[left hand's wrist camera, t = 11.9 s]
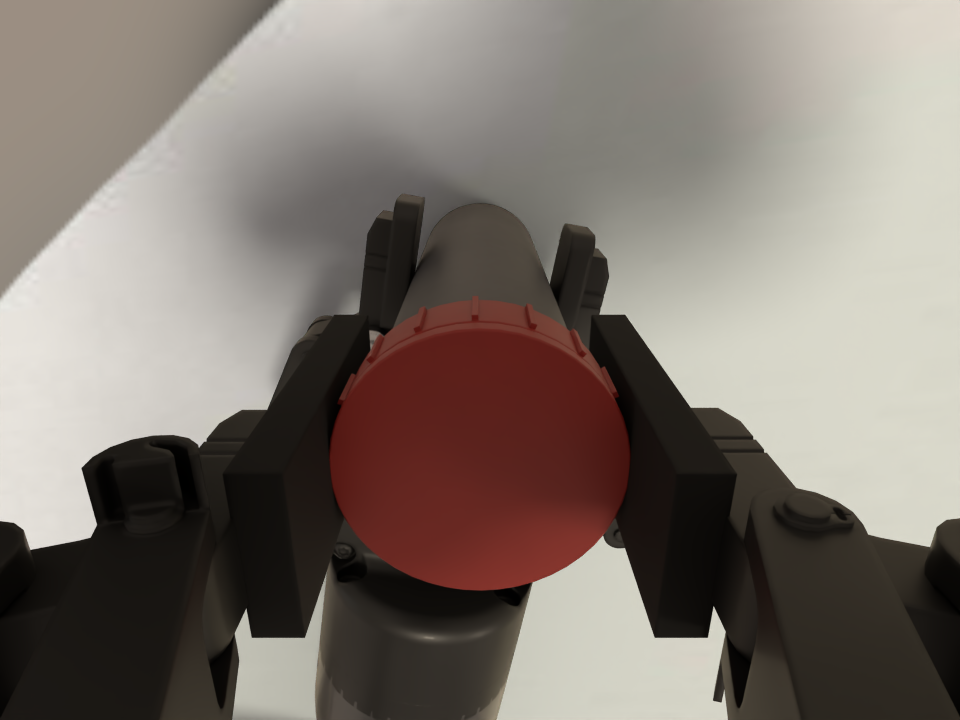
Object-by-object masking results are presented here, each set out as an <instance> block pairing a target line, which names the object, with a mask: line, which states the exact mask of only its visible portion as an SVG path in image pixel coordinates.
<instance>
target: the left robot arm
mask: <svg viewBox="0 0 960 720" xmlns="http://www.w3.org/2000/svg"><path fill="white" fill-rule="evenodd" d="M370 351H371V347H370V333H369V319H368V315H334V316H333V318H332V319H331V320H330V322H329V323H328V325H327V326H326V328H325V329H324V330H323V332H322V333H321V335H320V336H319V337H318V339H317V340H316V342H315V343H314V345H313V346H312V347H311V349H310V350H309V352H308V353H307V355H306V356H305V357H304V359H303V360H302V362H301V363H300V364H299V366H298V367H297V369H296V370H295V372H294V373H293V374H292V376H291V377H290V379H289V380H288V381H287V383H286V384H285V386H284V387H283V389H282V390H281V391H280V393H279V394H278V396H277V397H276V398H275V400H274V401H273V403H272V404H271V406H270V407H269V408H268V410H241V411H239V412H238V413H236V414H234V415H233V416H231V417H229V418H228V419H226V420H224V421H223V422H221V423H219V425H218V426H217V427H216V428H215V429H214V431H213V432H212V433H211V434H210V435H209V437H208V438H207V442H204V443H203V444H202V445H201V446H200V448H199V447H198V444H196V443H195V442H193V441H192V440H191V439H189V438H185V437H180V436H175V435H160V436H149V437H144V438H139V439H133V440H130V441H127V442H124V443H121V444H118V445H115V446H112V447H110V448H108V449H106V450H104V451H103V452H101V453H99V454H97V455H96V456H94V457H92V458H91V459H90V460H89V461H88V462H87V463H86V464H85V465H84V466H83V467H82V472H83V475H84V479H85V483H86V486H87V490H88V493H89V497H90V501H91V504H92V508H93V511H94V515H95V519H96V522H97V527H96V528H95V530H94V532H93V534H92V536H91V538H88V539H84V540H80V541H75V542H70V543H65V544H59V545H54V546H49V547H44V548H39V549H33V550H30V548H29V545H28V542H27V539H26V536H25V533H24V530H23V529H21V528H20V527H19V526H17V525H16V524H15V523H10V522H2V521H0V720H232V716H233V707H234V699H235V691H236V683H237V674H238V666H239V656H238V649H237V644H236V639H235V631H236V629H237V627H238V625H239V623H240V620H241V618H242V616H243V614H244V612H245V610H246V608H247V614H248V619H249V625H250V630H251V636H252V638H305V636H306V633H307V630H308V627H309V624H310V621H311V618H312V614H313V611H314V608H315V605H316V602H317V599H318V596H319V593H320V590H321V587H322V584H323V581H324V578H325V575H326V572H327V569H328V566H329V563H330V560H331V557H332V554H333V551H334V548H335V545H336V542H337V539H338V536H339V533H340V530H341V527H342V524H343V521H344V518H345V517H344V516H343V514H342V512H341V510H340V508H339V506H338V503H337V500H336V498H335V495H334V492H333V488H332V481H331V471H330V461H329V446H330V438H331V434H332V430H333V426H334V422H335V420H336V417H337V415H338V413H339V410H340V408H341V405H339V404H337V403H338V400H339V398H340V396H341V394H342V392H343V390H344V388H345V386H346V384H347V382H348V380H349V378H350V376H351V374H354V375H356V374H357V372H358V369H359V367H360V366H361V364H362V363H363V361H364V359H365V358H366V356H367V355H368V353H369V352H370ZM589 351H590V353H591V354H592V356H593V357H594V359H595V360H596V362H597V363H598V364H599V366H600V369H601V368H603V367H605V368H606V370H607V372H608V374H609V376H610V378H611V380H612V382H613V384H614V386H615V388H616V391H617V393H618V395H619V397H617V398H615V401H616V403H617V405H618V407H619V409H620V411H621V413H622V416H623V418H624V421H625V424H626V428H627V431H628V434H629V441H630V449H631V457H630V468H629V477H628V486H627V490H626V493H625V497H624V500H623V503H622V505H621V507H620V509H619V511H618V513H617V515H616V517H615V519H616V522H617V525H618V528H619V531H620V534H621V537H622V540H623V543H624V546H625V549H626V552H627V555H628V558H629V561H630V564H631V567H632V570H633V573H634V576H635V579H636V582H637V585H638V588H639V591H640V594H641V598H642V601H643V604H644V607H645V610H646V613H647V616H648V619H649V622H650V625H651V628H652V631H653V634H654V637H655V638H708V634H709V628H710V622H711V617H712V611H713V606H714V607H715V610H716V612H717V614H718V616H719V618H720V620H721V622H722V624H723V627H724V629H725V631H726V633H725V639H724V644H723V649H722V654H721V659H720V664H719V670H718V675H717V680H716V685H715V691H714V698H713V701H717V702H722V697H723V692H724V689H725V698H726V706H727V714H728V720H960V518H959V519H951V520H946V521H945V522H943V523H942V524H940V525H939V526H938V527H937V528H936V531H935V534H934V537H933V540H932V543H931V546H930V547H926V546H921V545H915V544H910V543H905V542H900V541H894V540H889V539H884V538H879V537H875V536H871V535H868V533H867V531H866V529H865V527H864V525H863V524H862V523H861V521H860V520H859V519H858V518H857V516H856V515H855V514H854V513H853V512H852V511H851V510H849V509H848V508H846V507H845V506H843V505H842V504H840V503H839V502H837V501H835V500H833V499H830V498H828V497H825V496H823V495H821V494H818V493H815V492H811V491H806V490H802V489H797V488H796V487H795V486H794V485H793V484H792V482H791V481H790V480H789V479H788V478H787V476H786V475H785V474H784V473H783V472H782V470H781V469H780V468H779V467H778V466H777V464H776V463H775V462H774V461H773V460H772V458H771V457H770V456H769V455H768V454H767V453H764V449H763V448H762V447H761V445H760V444H759V443H758V442H757V441H756V440H753V436H752V435H751V433H750V432H749V431H748V430H747V429H746V427H745V426H744V425H743V424H742V423H741V421H739V420H738V419H736V418H734V417H732V416H731V415H729V414H727V413H726V412H724V411H722V410H721V409H719V408H690V406H689V405H688V403H687V402H686V400H685V399H684V398H683V396H682V395H681V393H680V392H679V391H678V389H677V388H676V386H675V385H674V383H673V382H672V381H671V379H670V378H669V376H668V375H667V374H666V372H665V371H664V369H663V368H662V366H661V365H660V364H659V362H658V361H657V359H656V358H655V357H654V355H653V354H652V352H651V351H650V349H649V348H648V347H647V345H646V344H645V342H644V341H643V339H642V338H641V337H640V335H639V334H638V332H637V331H636V330H635V328H634V327H633V325H632V324H631V322H630V321H629V320H628V318H627V317H626V315H591V328H590V342H589Z"/></svg>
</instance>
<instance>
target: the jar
mask: <svg viewBox="0 0 960 720" xmlns="http://www.w3.org/2000/svg"><path fill="white" fill-rule="evenodd" d="M472 296H479V300H492V301H501V302H507V303H512V304H517V305H520V306H523V307H525V306H526V304H527V303H528V304H531V305H532V306H533V310H535V311H537V312H539V313H541V314H543V315H546V316H548V317H550V318H551V319H553V320H555V321H556V322H558V323H559V324H561V325H562V326H564V327H565V328H567V327H566V325H565V322H564V320H563V317H562V315H561V312H560V310H559V307H558V305H557V302H556V300H555V297H554V295H553V292H552V290H551V287H550V285H549V282H548V279H547V277H546V274H545V272H544V269H543V267H542V264H541V262H540V259H539V257H538V254H537V252H536V249H535V247H534V244H533V242H532V239H531V237H530V235H529V233H528V231H527V229H526V228H525V226H524V225H523V224H522V222H521V221H520V220H519V219H518V218H517V217H516V216H514V215H513V214H512V213H510V212H509V211H507V210H505V209H503V208H501V207H498V206H495V205H491V204H482V203H477V204H469V205H465V206H462V207H459V208H457V209H455V210H453V211H451V212H450V213H448V214H447V215H445V216H444V217H443V218H442V219H441V220H440V221H439V222H438V223H437V225H436V226H435V227H434V229H433V231H432V232H431V234H430V237H429V239H428V241H427V244H426V246H425V249H424V251H423V254H422V257H421V259H420V262H419V264H418V267H417V269H416V272H415V274H414V277H413V279H412V282H411V284H410V287H409V289H408V292H407V294H406V297H405V299H404V302H403V304H402V307H401V309H400V312H399V314H398V317H397V319H396V322H395V324H394V327H396V326H397V325H399V324H400V323H402V322H403V321H405V320H406V319H408V318H410V317H412V316H414V315H416V314H418V312H419V308H421V307H424V306H425V308H426V310H428V309H431V308H433V307H436V306H439V305H443V304H448V303H453V302H458V301H469V300H472ZM394 327H393V328H394Z"/></svg>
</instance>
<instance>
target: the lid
mask: <svg viewBox="0 0 960 720" xmlns="http://www.w3.org/2000/svg"><path fill="white" fill-rule="evenodd" d="M617 397H619V395H618V393H617V391H616V388H615V386H614V384H613V382H612V380H611V378H610V376H609V374H608V372H607V370H606V368H605V367H603V368H601V369H600V366H599V364H598V363H597V362H596V360H595V359H594V357H593V356H592V354H591V353H590V351H589V350H588V349H587V348H586V347H585V345H584V344H583V343H582V342H581V339H580V337H579V335H578V332H577V331H576V330H575V329H572V330H571V331H569V330H568V329H567V328H565V327H564V326H562V325H561V324H559V323H558V322H556V321H555V320H553V319H551V318H550V317H548V316H546V315H543V314H541V313H539V312H537V311H535V310H533V306H532V305H531V304H528V303H527V304H526V306H525V307H523V306H520V305H517V304H512V303H507V302H501V301H492V300H479V296H472V300H469V301H458V302H453V303H448V304H443V305H439V306H436V307H433V308H431V309H428V310H426V308H425V306H424V307H421V308H419V312H418V314H416V315H414V316H412V317H410V318H408V319H406V320H405V321H403V322H402V323H400V324H399V325H397V326H396V327H394V328H393V329H392V330H391V331H389V332H388V333H387V334H386V335H385V336H384V337H383V336H382V335H381V334H379V335H378V336H377V337H376V340H375V342H374V344H373V346H372V348H371V351H370V352H369V353H368V355H367V356H366V358H365V359H364V361H363V363H362V364H361V366H360V367H359V369H358V372H357V374H356V375H354V374H351V376H350V378H349V380H348V382H347V384H346V386H345V388H344V390H343V392H342V394H341V396H340V398H339V400H338V403H337V404H339V405H341V408H340V410H339V413H338V415H337V417H336V420H335V422H334V426H333V430H332V434H331V438H330V446H329V461H330V471H331V481H332V488H333V492H334V495H335V498H336V500H337V503H338V506H339V508H340V510H341V512H342V514H343V516H344V517H345V519H346V521H347V523H348V524H349V525H350V527H351V528H352V530H353V531H354V532H355V534H356V535H357V536H358V537H359V538H360V540H361V541H362V542H363V543H364V544H365V545H366V546H367V547H368V548H369V549H370V550H371V551H373V552H374V553H375V554H376V555H377V556H379V557H380V558H381V559H382V560H384V561H385V562H387V563H388V564H390V565H391V566H393V567H394V568H396V569H398V570H400V571H402V572H404V573H406V574H408V575H410V576H412V577H415V578H417V579H420V580H423V581H425V582H428V583H432V584H436V585H440V586H444V587H449V588H456V589H462V590H496V589H504V588H510V587H516V586H520V585H524V584H528V583H531V582H535V581H537V580H540V579H542V578H545V577H547V576H550V575H552V574H554V573H556V572H558V571H560V570H561V569H563V568H565V567H567V566H568V565H570V564H571V563H573V562H574V561H576V560H577V559H579V558H580V557H581V556H583V555H584V554H585V553H586V552H587V551H588V550H589V549H590V548H592V547H593V546H594V545H595V544H596V543H597V541H598V540H599V539H600V538H601V537H602V536H603V535H604V533H605V532H606V531H607V529H608V528H609V526H610V525H611V523H612V522H613V520H614V519H615V517H616V515H617V513H618V511H619V509H620V507H621V505H622V503H623V500H624V497H625V493H626V490H627V486H628V477H629V468H630V457H631V449H630V441H629V434H628V431H627V428H626V424H625V421H624V418H623V416H622V413H621V411H620V409H619V407H618V405H617V403H616V401H615V398H617Z"/></svg>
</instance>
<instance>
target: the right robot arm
mask: <svg viewBox="0 0 960 720" xmlns="http://www.w3.org/2000/svg"><path fill="white" fill-rule="evenodd" d="M424 203H425V198H424V197H418V196H413V195H407V194H401V195H400V196H399V197H398V199H397V200H396V203H395V207H394V212H390V211H384V210H383V211H382V212H381V214H380V215H379V216H378V217H377V218H376V220H375V221H374V223H373V225H372V227H371V229H370V230H369V232H368V235H367V244H366V255H365V263H364V272H363V282H362V291H361V300H360V310H359V312H358V313H357V314H355V315H368V319H369V333H370V347H371V348H372V346H373V344H374V342H375V340H376V337H377V336H378V335H379V334H381V335H382V336H383V337H384V336H385V335H386V334H387V333H388V332H389V331H391V330H392V329H393V327H394V324H395V322H396V319H397V317H398V314H399V312H400V309H401V307H402V304H403V302H404V299H405V297H406V294H407V292H408V289H409V287H410V284H411V282H412V279H413V277H414V274H415V269H416V262H417V255H418V248H419V240H420V233H421V226H422V219H423V211H424ZM608 279H609V273H608V265H607V259H606V258H605V256H604V255H603V254H602V253H601V252H600V250H599V249H596V248H595V235H594V234H593V233H592V232H591V231H590V230H589V228H588V227H583V226H577V225H571V224H564V226H563V229H562V232H561V236H560V241H559V245H558V250H557V254H556V259H555V263H554V268H553V272H552V276H551V281H550V287H551V290H552V292H553V295H554V297H555V300H556V302H557V305H558V307H559V310H560V312H561V315H562V317H563V320H564V322H565V325H566V327H567V329H568V330H569V331H571V330H572V329H575V330H576V331H577V332H578V335H579V337H580V339H581V342H582V343H583V344H584V345H585V347H586V348H587V349H588V350H589V342H590V328H591V315H599V313H600V308H601V306H602V302H603V298H604V294H605V290H606V286H607V283H608ZM332 318H333V317H332V316H321V317H319V318H317V319H316V320H314V322H313V323H312V324H311V326H310V327H309V329H308V331H307V333H306V334H305V336H304V337H303V338H301V339H300V340H299V341H298V342H297V343H296V345H295V346H294V347H293V349H292V351H291V353H290V355H289V358H288V360H287V363H286V365H285V368H284V370H283V373H282V375H281V378H280V380H279V382H278V385H277V387H276V390H275V392H274V395H273V397H272V400H271V402H270V405H269V407H270V406H271V404H272V403H273V401H274V400H275V398H276V397H277V396H278V394H279V393H280V391H281V390H282V389H283V387H284V386H285V384H286V383H287V381H288V380H289V379H290V377H291V376H292V374H293V373H294V372H295V370H296V369H297V367H298V366H299V364H300V363H301V362H302V360H303V359H304V357H305V356H306V355H307V353H308V352H309V350H310V349H311V347H312V346H313V345H314V343H315V342H316V340H317V339H318V337H319V336H320V335H321V333H322V332H323V330H324V329H325V328H326V326H327V325H328V323H329V322H330V320H331V319H332ZM269 407H268V408H269ZM603 536H604V539H605V541H606V543H607V544H608V545H610V546H612V547H614V548H625V546H624V543H623V540H622V537H621V534H620V531H619V528H618V525H617V522H616V519H614V520H613V522H612V523H611V525H610V526H609V528H608V529H607V531H606V532H605V533H604V535H603ZM532 583H533V582H531V583H528V584H524V585H520V586H516V587H510V588H504V589H496V590H462V589H456V588H449V587H444V586H440V585H436V584H432V583H428V582H425V581H423V580H420V579H417V578H415V577H412V576H410V575H408V574H406V573H404V572H402V571H400V570H398V569H396V568H394V567H393V566H391V565H390V564H388V563H387V562H385V561H384V560H382V559H381V558H380V557H379V556H377V555H376V554H375V553H374V552H373V551H371V550H370V549H369V548H368V547H367V546H366V545H365V544H364V543H363V542H362V541H361V540H360V538H359V537H358V536H357V535H356V534H355V532H354V531H353V530H352V528H351V527H350V525H349V524H348V523H347V521H346V519H345V518H344V521H343V524H342V527H341V530H340V533H339V536H338V539H337V542H336V545H335V548H334V551H333V554H332V557H331V560H330V563H329V566H328V569H327V577H326V587H325V597H324V606H323V616H322V625H321V635H320V644H319V654H318V664H317V674H316V684H315V706H316V719H317V720H496V719H497V716H498V712H499V709H500V705H501V701H502V698H503V694H504V690H505V686H506V682H507V678H508V674H509V670H510V667H511V663H512V659H513V655H514V651H515V648H516V644H517V640H518V636H519V633H520V629H521V625H522V621H523V617H524V613H525V610H526V606H527V602H528V598H529V594H530V590H531V587H532Z"/></svg>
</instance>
